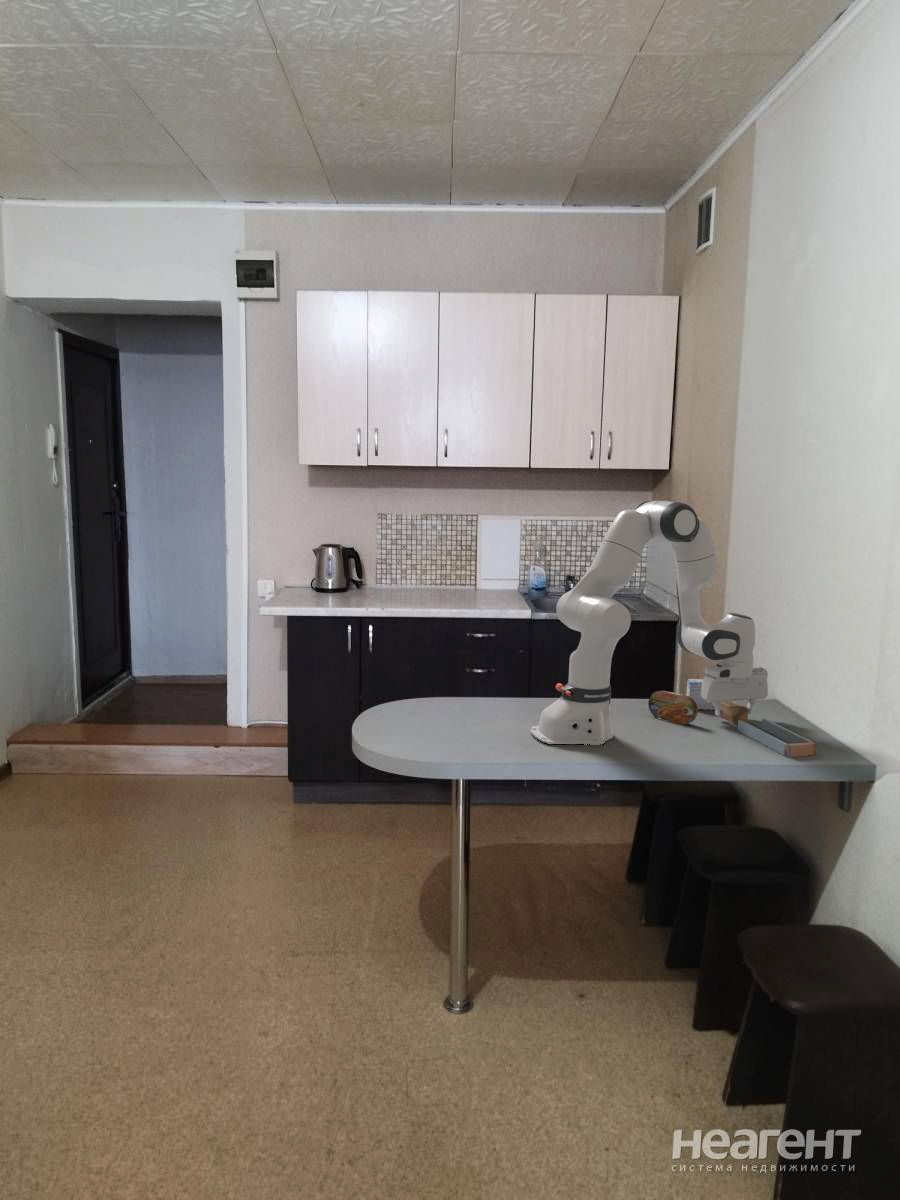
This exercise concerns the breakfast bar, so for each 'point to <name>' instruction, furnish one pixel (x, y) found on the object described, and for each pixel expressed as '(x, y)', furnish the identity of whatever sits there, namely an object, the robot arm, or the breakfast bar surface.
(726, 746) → the breakfast bar surface
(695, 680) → the medicine box
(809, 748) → the trap channel
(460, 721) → the breakfast bar surface
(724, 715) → the tan block
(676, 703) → the tin
